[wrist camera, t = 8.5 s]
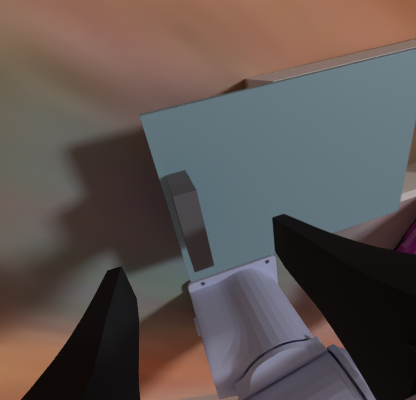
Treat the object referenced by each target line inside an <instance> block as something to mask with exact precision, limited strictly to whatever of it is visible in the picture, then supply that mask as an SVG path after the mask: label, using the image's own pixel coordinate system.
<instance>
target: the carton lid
mask: <svg viewBox="0 0 416 400" xmlns="http://www.w3.org/2000/svg"><path fill="white" fill-rule="evenodd" d="M139 115H140V118H141V122H142V125H143V128H144V131H145V135H146V138H147V141H148V144H149V148H150V151H151V154H152V157H153V161H154V164H155V167H156V170H157V174H158V177H159V180H160V183H161V187H162V190H163V193H164V196H165V200H166V203H167V206H168V209H169V213H170V216H171V219H172V222H173V226H174V229H175V232H176V235H177V239H178V242H179V245H180V248H181V252H182V255H183V258H184V261H185V265H186V268H187V271H188V274H189V278H190V281H191V282H192V281H195V280H198V279H200V278H203V277H206V276H209V275H212V274H215V273H218V272H221V271H224V270H227V269H230V268H232V267H235V266H238V265H241V264H244V263H247V262H250V261H253V260H256V259H259V258H262V257H264V256H267V255H270V254H273V253H276V252H275V246H274V235H273V223H272V217H275V216H278V215H281V214H286V215H288V216H291V217H293V218H296V219H298V220H300V221H303V222H305V223H307V224H310V225H312V226H315V227H317V228H319V229H322V230H325V231H327V232H330V233H334V232H337V231H340V230H343V229H346V228H349V227H352V226H355V225H357V224H360V223H363V222H366V221H369V220H372V219H375V218H378V217H381V216H384V215H387V214H389V213H392V212H395V211H398V210H399V206H400V200H401V195H402V190H403V185H404V179H405V174H406V169H407V163H408V158H409V153H410V148H411V142H412V137H413V132H414V126H415V121H416V47H415V48H411V49H407V50H403V51H399V52H395V53H390V54H386V55H382V56H378V57H374V58H370V59H366V60H362V61H357V62H353V63H349V64H345V65H341V66H337V67H333V68H329V69H325V70H320V71H316V72H312V73H308V74H304V75H300V76H296V77H292V78H287V79H283V80H279V81H275V82H271V83H267V84H263V85H259V86H254V87H250V88H246V89H242V90H238V91H234V92H230V93H226V94H222V95H217V96H213V97H209V98H205V99H201V100H197V101H193V102H189V103H184V104H180V105H176V106H172V107H168V108H164V109H160V110H156V111H151V112H147V113H143V114H139Z"/></svg>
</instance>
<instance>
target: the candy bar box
mask: <svg viewBox="0 0 416 400" xmlns="http://www.w3.org/2000/svg"><path fill="white" fill-rule="evenodd" d="M394 251H398V252H403V253H409V254H415V255H416V221H415V222H414V224H413V225H412V227H411V228H410V229H409V231H408V232H407V234H406V235H405V236H404V238H403V239H402V241H401V242H400V244H399V245H398V246H397V248H396V249H395V250H394Z"/></svg>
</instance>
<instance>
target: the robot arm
mask: <svg viewBox="0 0 416 400" xmlns="http://www.w3.org/2000/svg"><path fill="white" fill-rule="evenodd" d="M272 223H273V235H274V246H275V252H276V253H277V255H278V257H279V258H280V260H281V262H282V263H283V265H284V266H285V268H286V269H287V270H288V272H289V273H290V274H291V275H292V277H293V278H294V279H295V280H296V281H297V283H298V284H299V285H300V286H301V287H302V289H303V290H304V291H305V292H306V294H307V295H308V296H309V297H310V298H311V300H312V301H313V302H314V303H315V304H316V306H317V307H318V308H319V310H320V311H321V312H322V314H323V315H324V317H325V318H326V320H327V321H328V323H329V324H330V326H331V327H332V329H333V330H334V332H335V333H336V335H337V336H338V338H339V340H340V341H341V343H342V344H343V346H344V347H345V349H346V350H345V349H343V348H340V347H337V346H336V345H334V344H332V345H330V346H329V347H327V349H326V348H325V346H324V345H323V343H322V342H321V340H320V339H319V338H318V336H316V337H314V336H313V335H312V334H311V332H310V331H309V329H308V328H307V326H306V325H305V323H304V322H303V321H302V319H301V318H300V316H299V315H298V313H297V312H296V310H295V309H294V308H293V306H292V305H291V303H290V302H289V300H288V299H287V297H286V296H285V295H284V293H283V292H282V290H281V289H280V287H279V286H278V280H277V268H276V258H275V256H274V255H272V254H270V255H267V256H264V257H262V258H259V259H256V260H253V261H250V262H247V263H244V264H241V265H238V266H235V267H232V268H230V269H227V270H224V271H221V272H218V273H215V274H212V275H209V276H206V277H203V278H200V279H198V280H195V281H192V282H189V283H188V290H189V293H190V297H191V301H192V304H193V308H194V312H195V316H196V317H194V318H193V319H194V323H195V327H196V330H197V333H198V336H199V337H200V336H201V338H202V342H203V345H204V349H205V353H206V356H207V360H208V363H209V367H210V370H211V373H212V377H213V380H214V383H215V387H216V390H217V393H218V396H219V398H220V399H223V398H227V397H232V396H238V397H239V399H238V400H416V255H415V254H409V253H403V252H398V251H393V250H388V249H384V248H379V247H375V246H371V245H367V244H364V243H360V242H357V241H353V240H350V239H347V238H344V237H341V236H338V235H335V234H332V233H330V232H327V231H325V230H322V229H319V228H317V227H315V226H312V225H310V224H307V223H305V222H303V221H300V220H298V219H296V218H293V217H291V216H288V215H286V214H281V215H278V216H275V217H272ZM266 260H267V261H266ZM202 282H204V283H202ZM138 371H139V315H138V306H137V298H136V296H135V294H134V292H133V290H132V287H131V285H130V283H129V281H128V279H127V277H126V275H125V272H124V270H123V268H122V266H120V267H117V268H114V269H111V270H108V271H107V273H106V274H105V276H104V278H103V280H102V282H101V284H100V286H99V288H98V290H97V292H96V294H95V296H94V297H93V299H92V301H91V303H90V305H89V306H88V308H87V310H86V312H85V314H84V315H83V317H82V319H81V320H80V322H79V323H78V325H77V327H76V328H75V330H74V332H73V333H72V335H71V336H70V338H69V339H68V341H67V342H66V344H65V345H64V347H63V348H62V349H61V351H60V352H59V353H58V355H57V356H56V358H55V359H54V360H53V361H52V363H51V364H50V365H49V367H48V368H47V369H46V370H45V371H44V373H43V374H42V375H41V376H40V378H39V379H38V380H37V381H36V382H35V384H34V385H33V386H32V387H31V389H30V390H29V391H28V392H27V393H26V394H25V395H24V397H23V398H22V399H21V400H140V392H139V372H138Z"/></svg>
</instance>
